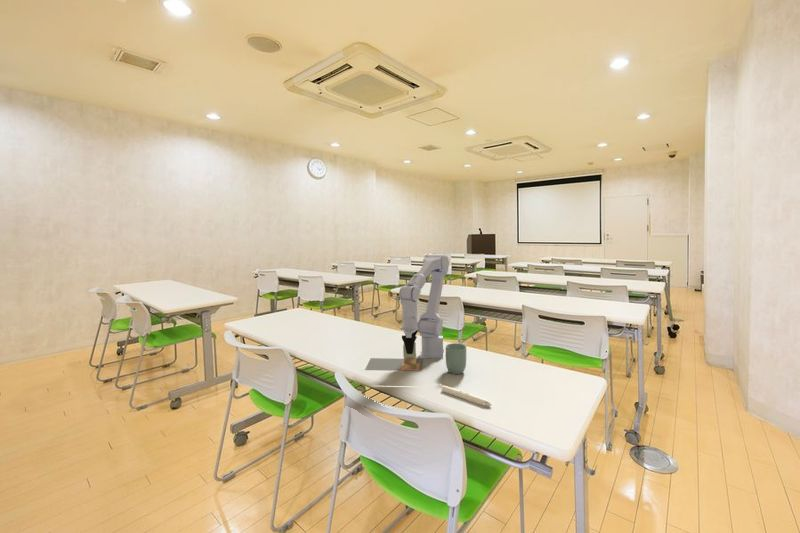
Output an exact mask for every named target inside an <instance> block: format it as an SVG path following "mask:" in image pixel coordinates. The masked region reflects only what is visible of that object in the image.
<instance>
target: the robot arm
mask: <svg viewBox="0 0 800 533" xmlns="http://www.w3.org/2000/svg"><path fill="white" fill-rule="evenodd" d="M449 260H450V259H449V257H448V255H447V254H425V255H424V257H423V262H422V263H423V264H422V265H421V268H420V269H419V271H418V273H414V274H413V276H412V277H411V278H410V279H409V281H408V282H407V283H406V285H402V287H400V288H399V293H398V297H399V301H400V305H401V306H402V307H401V309H402V311H401V312H402V313H401V314H402V326H399V331H403V333H404V335H401V340H402V341H403V345H404V344H405V348H406V352H407V354H412V353H413V348H414V343H415V342H416V340H417V337H418V336H417V333H418V334H419V336H421V351H420V352H421V353H420V359H444V352H445V348H444V337H443V335H441V334H442V333H443V328H444V327H443V323H444V321H443V320H444V319H443V318H442V317H441V316H440V315H439V314H438V313H439V309H440V303H441V297H442V293H443V292H442V290H443V286H444V281H445V276H447V275H448V272H449V265H450V261H449ZM428 275H430V276H431V278H432V279H431V283H430V290H429V295H428V300H427V305H426V311H425V312H424V313H422V314H420V316H419V319H418V300H419V299H420V296H421V292H422V289H423V287H424V286H425V285H426V282H427V279H426V278H427V277H428Z"/></svg>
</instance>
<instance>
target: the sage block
mask: <svg viewBox="0 0 800 533" xmlns="http://www.w3.org/2000/svg"><path fill="white" fill-rule="evenodd" d="M402 346H403V347H402V350H403V351H402V352H403V353H402V354H403V355H402V356H403V358H404V357H415V355H416V356H417V353H416V352H417V349H416V348H417V347H416V341H415V343H414V348H413V353H412V354H407V352H406V348H405V344H404V343H403V345H402Z"/></svg>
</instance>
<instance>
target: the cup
mask: <svg viewBox="0 0 800 533" xmlns="http://www.w3.org/2000/svg"><path fill="white" fill-rule="evenodd" d="M445 366H446V369H447V371H448V372H449V373H450V374H453V375H460V374H463V373H464V372H465V370H466V368H467V346H466V345H465V344H463V343H456V342H455V343H448V344H446V346H445Z"/></svg>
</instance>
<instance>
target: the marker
mask: <svg viewBox="0 0 800 533" xmlns="http://www.w3.org/2000/svg"><path fill="white" fill-rule="evenodd" d="M441 392H443V393H445V392H446V394H448V393H449V394H448V395H451V396H455V397H457V398H460V399H462V398H463V399H462V400H465V399H466V400H465V401H469V402H471V403H474V404H477V405H480V406H483V407H491V406H492V403H491V402H490V401H489V400H487V399H486V398H483V397H480V396H477V395H474V394H471V393H468V392H465V391H462V390H459V389H456V388H454V387H450V386H447V385H442V386H441Z"/></svg>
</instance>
